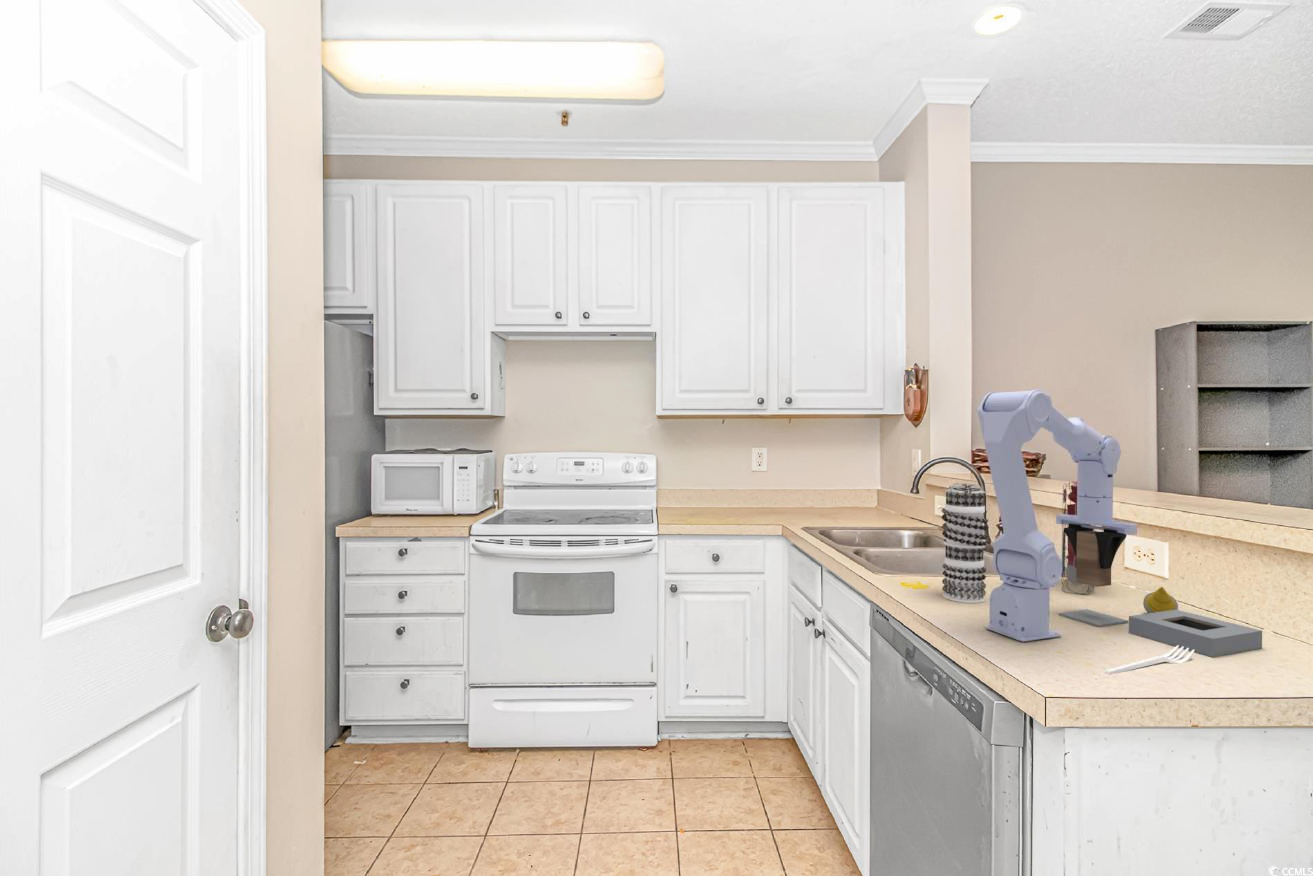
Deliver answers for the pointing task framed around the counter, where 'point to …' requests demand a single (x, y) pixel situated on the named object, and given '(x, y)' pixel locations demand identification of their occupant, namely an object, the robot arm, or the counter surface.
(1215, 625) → the gray square frame
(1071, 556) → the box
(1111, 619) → the flat gray square panel
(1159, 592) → the drill bit
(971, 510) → the decorative candle
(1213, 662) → the counter surface
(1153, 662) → the fork
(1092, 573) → the wooden rectangular post
